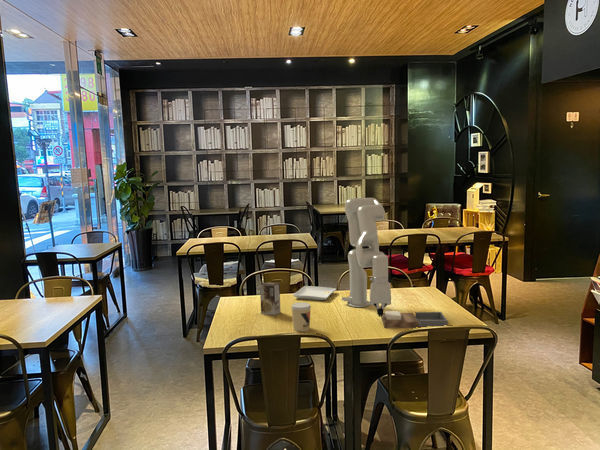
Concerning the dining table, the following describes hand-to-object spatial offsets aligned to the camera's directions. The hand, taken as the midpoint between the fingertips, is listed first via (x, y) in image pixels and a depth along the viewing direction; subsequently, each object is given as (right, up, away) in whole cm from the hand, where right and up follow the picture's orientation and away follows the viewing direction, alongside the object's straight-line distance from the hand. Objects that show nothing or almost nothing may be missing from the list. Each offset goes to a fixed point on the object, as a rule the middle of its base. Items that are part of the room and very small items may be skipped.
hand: (380, 315), depth 236 cm
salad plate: (-31, +2, +52) cm, 61 cm away
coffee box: (-56, -3, +21) cm, 59 cm away
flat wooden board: (+9, -4, 0) cm, 10 cm away
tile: (+6, -1, 0) cm, 6 cm away
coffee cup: (-39, -6, -5) cm, 40 cm away
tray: (+24, -3, -1) cm, 25 cm away
